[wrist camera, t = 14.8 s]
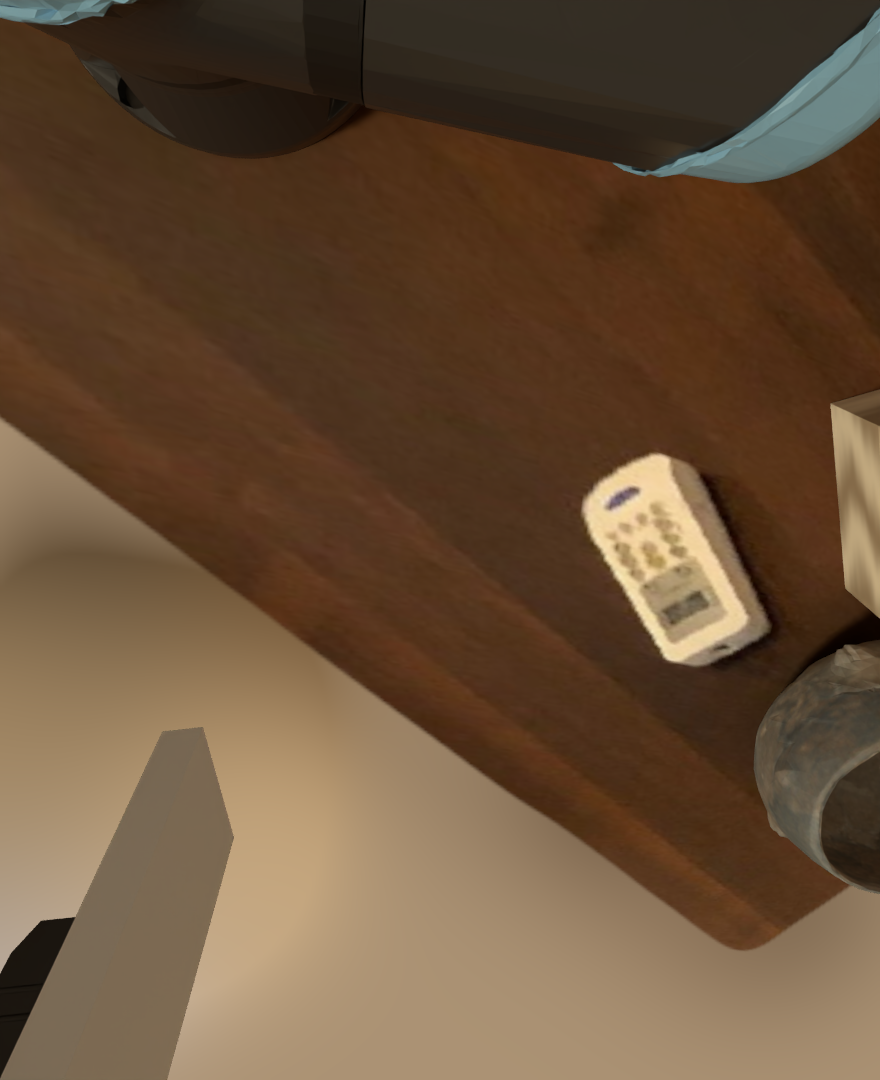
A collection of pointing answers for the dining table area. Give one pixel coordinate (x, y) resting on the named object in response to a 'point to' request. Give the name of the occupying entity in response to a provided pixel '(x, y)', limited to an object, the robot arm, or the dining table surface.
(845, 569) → the birch box
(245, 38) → the robot arm
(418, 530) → the dining table surface
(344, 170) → the dining table surface
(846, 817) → the bowl
